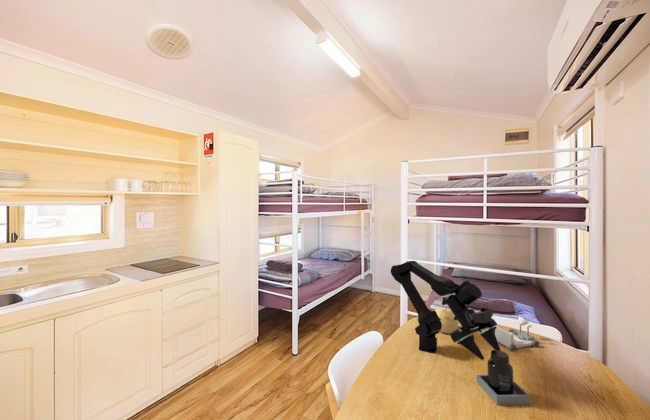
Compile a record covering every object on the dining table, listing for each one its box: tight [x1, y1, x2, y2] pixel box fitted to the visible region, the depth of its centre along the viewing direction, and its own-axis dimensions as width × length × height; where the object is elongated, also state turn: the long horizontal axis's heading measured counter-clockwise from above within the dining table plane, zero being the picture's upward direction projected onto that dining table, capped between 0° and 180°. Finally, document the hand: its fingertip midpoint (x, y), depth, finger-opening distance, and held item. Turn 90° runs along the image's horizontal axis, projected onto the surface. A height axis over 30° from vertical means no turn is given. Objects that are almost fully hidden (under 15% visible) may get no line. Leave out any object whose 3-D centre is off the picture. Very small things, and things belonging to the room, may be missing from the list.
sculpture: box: [434, 306, 460, 334], centre depth 125 cm, size 12×12×11 cm
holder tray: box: [476, 374, 531, 406], centre depth 83 cm, size 10×10×2 cm
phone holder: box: [494, 316, 540, 352], centre depth 114 cm, size 18×10×12 cm
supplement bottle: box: [487, 349, 514, 395], centre depth 82 cm, size 7×7×12 cm
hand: (491, 355), depth 85 cm, fingers open, 9 cm apart
